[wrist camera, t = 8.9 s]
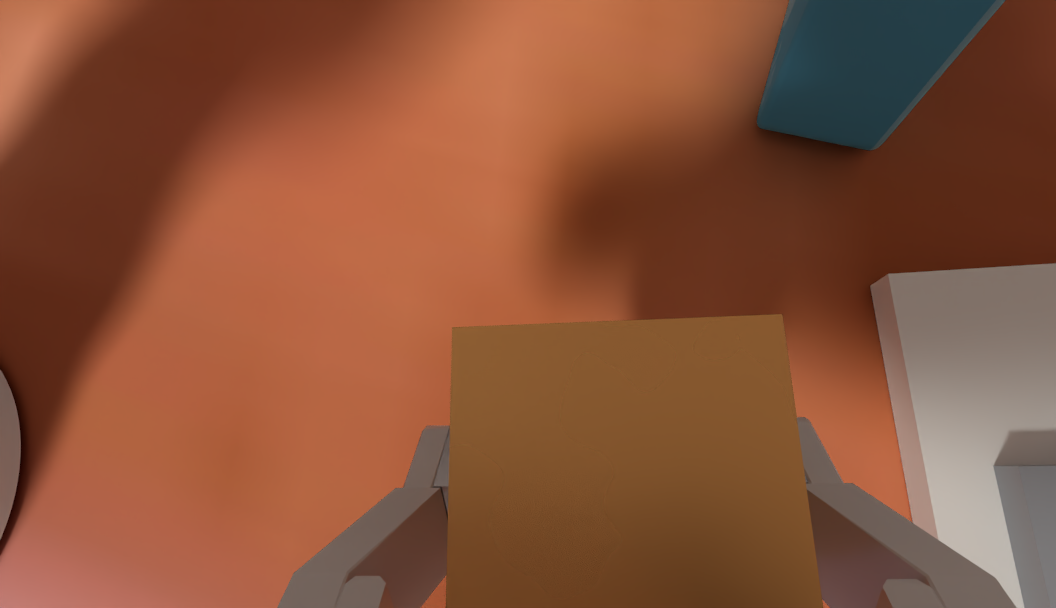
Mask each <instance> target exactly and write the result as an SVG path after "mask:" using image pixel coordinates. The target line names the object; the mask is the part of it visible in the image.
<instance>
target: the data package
mask: <svg viewBox="0 0 1056 608" xmlns="http://www.w3.org/2000/svg"><path fill="white" fill-rule="evenodd" d="M1004 2H1005V0H789V3H788V7H787V11H786V14H785V18H784V21H783V25H782V29H781V32H780V36H779V39H778V43H777V47H776V50H775V54H774V57H773V61H772V65H771V68H770V72H769V75H768V79H767V83H766V86H765V90H764V93H763V97H762V101H761V104H760V108H759V112H758V116H757V125H758V127H759V128H761V129H765V130H770V131H775V132H780V133H785V134H790V135H795V136H800V137H805V138H810V139H815V140H820V141H825V142H829V143H834V144H839V145H844V146H849V147H854V148H859V149H864V150H875V149H877V148H878V147H880V146H881V145H882V144H883V143H884V142H885V141H886V140H887V138H888V137H889V136H890V135H891V134H892V133H893V131H894V130H895V129H896V128H897V127H898V126H899V124H900V123H901V122H902V121H903V120H904V118H905V117H906V116H907V115H908V114H909V113H910V111H911V110H912V109H913V108H914V107H915V106H916V104H917V103H918V102H919V101H920V100H921V99H922V97H923V96H924V95H925V94H926V93H927V92H928V90H929V89H930V88H931V87H932V86H933V85H934V83H935V82H936V81H937V80H938V79H939V78H940V76H941V75H942V74H943V73H944V72H945V71H946V69H947V68H948V67H949V66H950V65H951V64H952V62H953V61H954V60H955V59H956V58H957V57H958V55H959V54H960V53H961V52H962V51H963V49H964V48H965V47H966V46H967V45H968V44H969V42H970V41H971V40H972V39H973V38H974V37H975V35H976V34H977V33H978V32H979V31H980V30H981V28H982V27H983V26H984V25H985V24H986V23H987V21H988V20H989V19H990V18H991V17H992V16H993V14H994V13H995V12H996V11H997V10H998V9H999V7H1000V6H1001V5H1002V4H1003V3H1004Z"/></svg>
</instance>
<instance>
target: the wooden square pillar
mask: <svg viewBox="0 0 1056 608" xmlns="http://www.w3.org/2000/svg"><path fill="white" fill-rule="evenodd" d="M446 608H823V602H822V595H821V588H820V581H819V573H818V566H817V559H816V552H815V545H814V538H813V530H812V523H811V516H810V509H809V502H808V495H807V487H806V480H805V473H804V466H803V459H802V451H801V444H800V437H799V430H798V423H797V416H796V408H795V401H794V394H793V387H792V380H791V373H790V365H789V358H788V351H787V344H786V337H785V329H784V322H783V315H782V314H772V315H748V316H723V317H698V318H674V319H649V320H624V321H599V322H575V323H550V324H525V325H500V326H476V327H452V361H451V403H450V446H449V489H448V532H447V575H446Z"/></svg>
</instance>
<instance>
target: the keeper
mask: <svg viewBox="0 0 1056 608" xmlns="http://www.w3.org/2000/svg"><path fill="white" fill-rule="evenodd" d="M870 288H871V294H872V299H873V305H874V311H875V316H876V322H877V327H878V333H879V338H880V344H881V349H882V355H883V360H884V366H885V371H886V377H887V382H888V388H889V393H890V399H891V404H892V410H893V415H894V421H895V426H896V432H897V438H898V443H899V449H900V454H901V460H902V465H903V471H904V476H905V482H906V487H907V493H908V498H909V504H910V509H911V515H912V520H913V523H914V524H915V525H917V526H918V527H920V528H921V529H923V530H924V531H926V532H927V533H929V534H930V535H932V536H933V537H935V538H936V539H938V540H939V541H941V542H942V543H944V544H945V545H947V546H948V547H950V548H951V549H953V550H954V551H956V552H957V553H959V554H960V555H962V556H963V557H965V558H966V559H968V560H969V561H971V562H972V563H974V564H976V565H977V566H979V567H980V568H982V569H983V570H985V571H986V572H988V573H989V574H991V575H992V576H994V577H995V578H996V579H997V580H998V582H999V583H1000V585H1001V586H1002V588H1003V589H1004V590H1005V592H1006V593H1007V595H1008V596H1009V598H1010V599H1011V600H1012V602H1013V603H1014V605H1015V606H1016V607H1017V608H1056V263H1053V264H1037V265H1021V266H1005V267H989V268H973V269H957V270H942V271H926V272H910V273H894V274H887V275H885V276H884V277H882V278H881V279H879V280H878V281H876V282H875V283H873V284H872V285H870Z"/></svg>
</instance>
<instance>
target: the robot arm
mask: <svg viewBox="0 0 1056 608" xmlns="http://www.w3.org/2000/svg"><path fill="white" fill-rule="evenodd" d="M797 423H798V430H799V437H800V444H801V451H802V459H803V466H804V473H805V480H806V487H807V495H808V502H809V509H810V516H811V523H812V530H813V538H814V545H815V552H816V559H817V566H818V573H819V581H820V588H821V595H822V599H823V601H824V602H825V603H826V604H827V605H828V606H829V607H830V608H1017V607H1016V606H1015V605H1014V603H1013V602H1012V600H1011V599H1010V598H1009V596H1008V595H1007V593H1006V592H1005V590H1004V589H1003V588H1002V586H1001V585H1000V583H999V582H998V580H997V579H996V578H995V577H994V576H992V575H991V574H989V573H988V572H986V571H985V570H983V569H982V568H980V567H979V566H977V565H976V564H974V563H972V562H971V561H969V560H968V559H966V558H965V557H963V556H962V555H960V554H959V553H957V552H956V551H954V550H953V549H951V548H950V547H948V546H947V545H945V544H944V543H942V542H941V541H939V540H938V539H936V538H935V537H933V536H932V535H930V534H929V533H927V532H926V531H924V530H923V529H921V528H920V527H918V526H917V525H915V524H914V523H912V522H910V521H909V520H907V519H906V518H904V517H903V516H901V515H900V514H898V513H897V512H895V511H894V510H892V509H891V508H889V507H888V506H886V505H885V504H883V503H882V502H880V501H879V500H877V499H876V498H874V497H873V496H871V495H870V494H868V493H867V492H865V491H864V490H862V489H861V488H859V487H858V486H856V485H855V484H853V483H843V481H842V479H841V477H840V476H839V474H838V472H837V470H836V468H835V466H834V465H833V463H832V461H831V459H830V457H829V455H828V454H827V452H826V450H825V448H824V446H823V444H822V443H821V441H820V439H819V437H818V435H817V433H816V432H815V430H814V428H813V426H812V424H811V422H810V421H809V420H808V419H807V418H805V417H797ZM449 446H450V426H426V427H425V429H424V430H423V431H422V434H421V437H420V440H419V443H418V445H417V448H416V451H415V454H414V457H413V460H412V463H411V466H410V469H409V472H408V475H407V478H406V481H405V484H404V486H403V488H395V489H394V490H393V491H392V492H390V493H389V494H388V495H387V496H386V497H384V498H383V499H382V500H381V501H380V502H378V503H377V504H376V505H375V506H374V507H372V508H371V509H370V510H369V511H368V512H366V513H365V514H364V515H363V516H362V517H360V518H359V519H358V520H357V521H356V522H354V523H353V524H352V525H351V526H350V527H348V528H347V529H346V530H345V531H344V532H342V533H341V534H340V535H339V536H338V537H336V538H335V539H334V540H333V541H332V542H330V543H329V544H328V545H327V546H326V547H324V548H323V549H322V550H321V551H320V552H319V553H317V554H316V555H315V556H314V557H313V558H311V559H310V560H309V561H308V562H307V563H305V564H304V565H303V566H302V567H301V568H299V569H298V570H297V571H296V572H295V573H294V574H293V576H292V578H291V580H290V582H289V584H288V586H287V589H286V591H285V593H284V595H283V597H282V599H281V601H280V603H279V605H278V607H277V608H420V607H421V606H422V605H423V604H424V602H425V601H426V600H427V599H428V597H429V596H430V595H431V593H432V592H433V591H434V590H435V588H436V587H437V586H438V585H439V583H440V582H441V581H442V580H443V578H444V577H445V576H446V574H447V532H448V489H449ZM20 457H21V439H20V426H19V419H18V413H17V409H16V405H15V401H14V398H13V395H12V392H11V389H10V387H9V385H8V383H7V381H6V379H5V377H4V375H3V373H2V372H1V370H0V539H1V537H2V534H3V532H4V529H5V527H6V524H7V521H8V518H9V515H10V512H11V509H12V505H13V501H14V497H15V493H16V488H17V483H18V476H19V469H20Z"/></svg>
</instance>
